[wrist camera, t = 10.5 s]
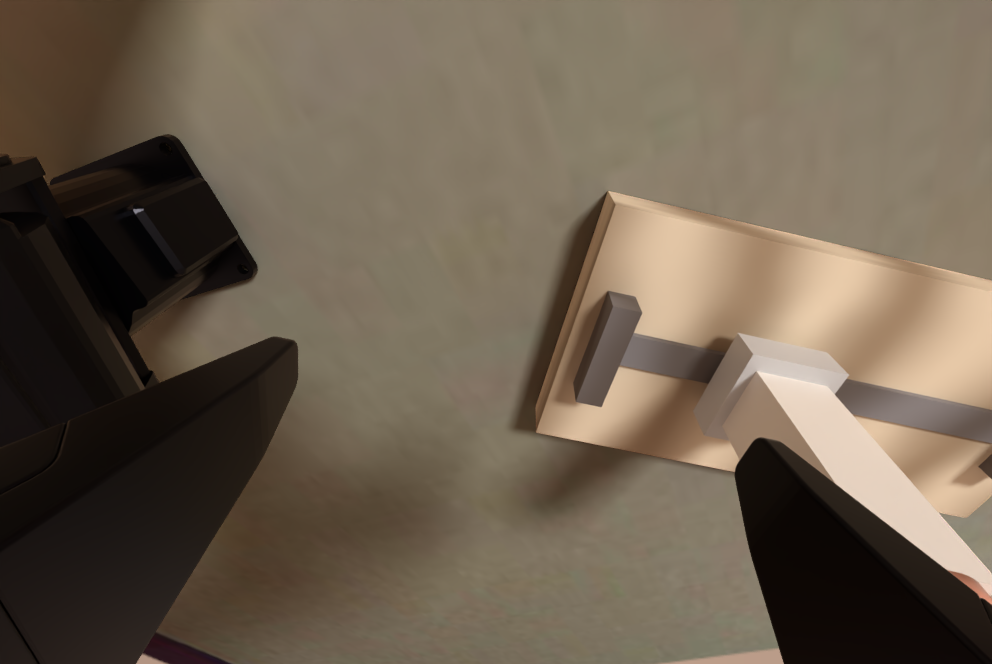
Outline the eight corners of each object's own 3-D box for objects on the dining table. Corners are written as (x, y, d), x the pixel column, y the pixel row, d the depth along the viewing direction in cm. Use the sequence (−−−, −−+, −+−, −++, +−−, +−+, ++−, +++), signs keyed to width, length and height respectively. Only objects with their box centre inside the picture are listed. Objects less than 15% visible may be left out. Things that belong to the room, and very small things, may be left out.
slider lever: (693, 411, 22) (812, 675, 13) (737, 332, 20) (922, 585, 11) (774, 427, 22) (948, 699, 13) (827, 352, 20) (1084, 616, 11)
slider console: (535, 406, 26) (536, 452, 23) (608, 190, 20) (622, 216, 17) (938, 488, 27) (987, 541, 24) (1124, 311, 21) (1219, 354, 18)
